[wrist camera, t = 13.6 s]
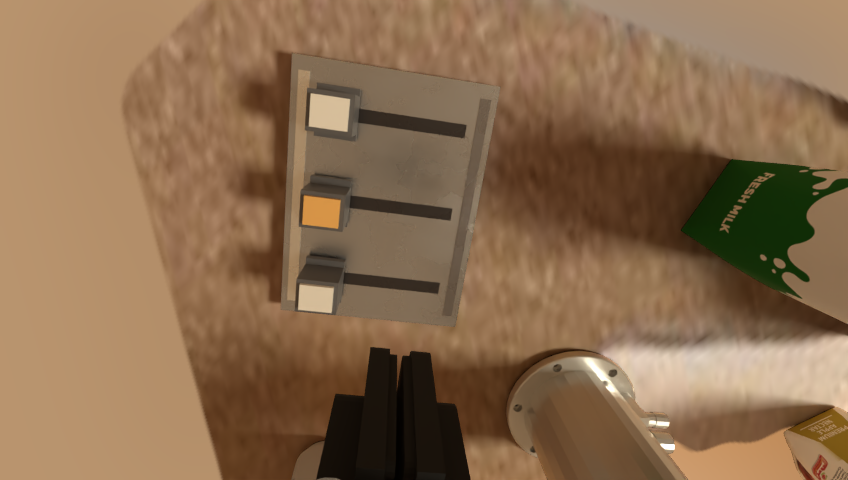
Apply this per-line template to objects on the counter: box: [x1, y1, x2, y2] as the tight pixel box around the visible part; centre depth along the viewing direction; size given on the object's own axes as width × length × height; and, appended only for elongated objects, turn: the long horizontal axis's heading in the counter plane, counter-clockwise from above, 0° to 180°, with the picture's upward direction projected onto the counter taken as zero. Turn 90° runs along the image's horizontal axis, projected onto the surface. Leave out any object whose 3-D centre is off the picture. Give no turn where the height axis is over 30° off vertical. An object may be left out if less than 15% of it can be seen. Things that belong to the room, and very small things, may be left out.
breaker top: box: [295, 255, 345, 315], centre depth 31 cm, size 3×4×4 cm
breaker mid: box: [299, 175, 352, 232], centre depth 29 cm, size 3×4×4 cm
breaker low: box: [305, 82, 361, 142], centre depth 27 cm, size 3×4×4 cm
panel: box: [281, 53, 500, 327], centre depth 32 cm, size 15×20×1 cm
